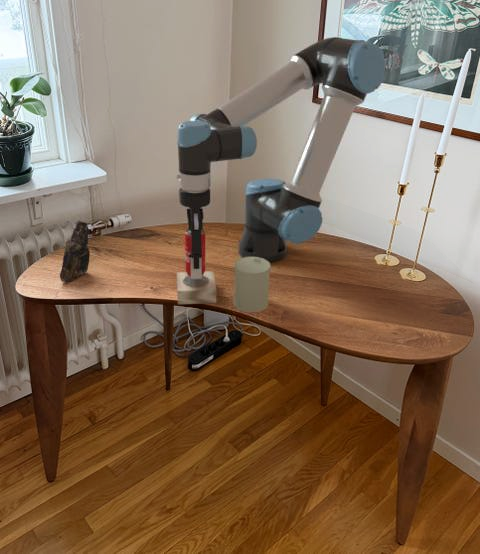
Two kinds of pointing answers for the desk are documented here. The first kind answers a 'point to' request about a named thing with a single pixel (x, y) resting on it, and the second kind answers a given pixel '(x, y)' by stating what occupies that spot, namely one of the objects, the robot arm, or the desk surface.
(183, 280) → the base
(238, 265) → the can
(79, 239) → the statue
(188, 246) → the beverage can
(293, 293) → the desk surface
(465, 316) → the desk surface
